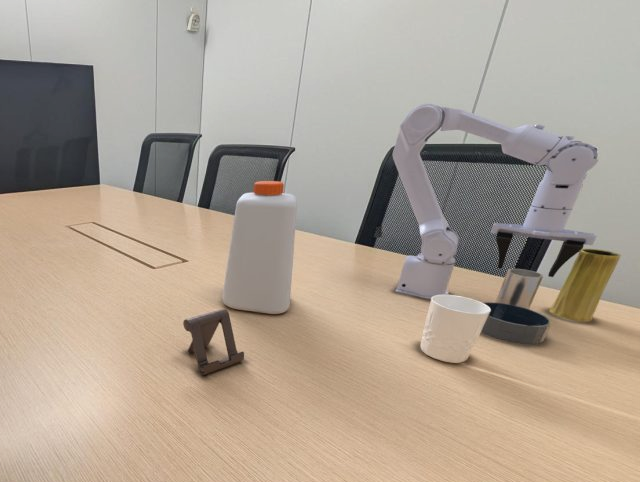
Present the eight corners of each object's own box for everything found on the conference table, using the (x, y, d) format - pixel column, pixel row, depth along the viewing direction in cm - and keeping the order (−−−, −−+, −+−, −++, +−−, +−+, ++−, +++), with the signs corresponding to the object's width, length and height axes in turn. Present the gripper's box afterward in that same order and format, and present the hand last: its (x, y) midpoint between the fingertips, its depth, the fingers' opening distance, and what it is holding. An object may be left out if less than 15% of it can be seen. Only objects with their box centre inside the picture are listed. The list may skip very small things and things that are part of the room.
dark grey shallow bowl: (464, 331, 75) (471, 313, 73) (472, 314, 82) (478, 297, 80) (542, 352, 68) (551, 332, 66) (543, 331, 74) (551, 313, 73)
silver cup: (491, 311, 83) (506, 272, 79) (494, 303, 86) (508, 266, 83) (526, 318, 79) (543, 279, 76) (527, 310, 83) (543, 272, 79)
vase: (600, 323, 76) (635, 257, 71) (564, 321, 78) (595, 256, 72) (573, 310, 82) (604, 248, 76) (540, 309, 83) (568, 247, 78)
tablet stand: (204, 377, 63) (206, 334, 60) (177, 355, 69) (178, 315, 66) (243, 363, 67) (248, 321, 63) (214, 343, 73) (217, 304, 70)
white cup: (459, 345, 70) (477, 297, 66) (480, 368, 63) (501, 316, 59) (409, 339, 73) (424, 292, 69) (424, 361, 66) (441, 310, 62)
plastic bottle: (218, 309, 87) (228, 186, 77) (228, 286, 100) (237, 177, 89) (288, 318, 82) (308, 187, 71) (289, 293, 95) (306, 178, 84)
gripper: (499, 205, 76) (477, 268, 82) (609, 214, 67) (576, 285, 72) (502, 201, 81) (481, 260, 86) (606, 209, 71) (575, 275, 76)
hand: (524, 271), depth 79 cm, fingers open, 7 cm apart
